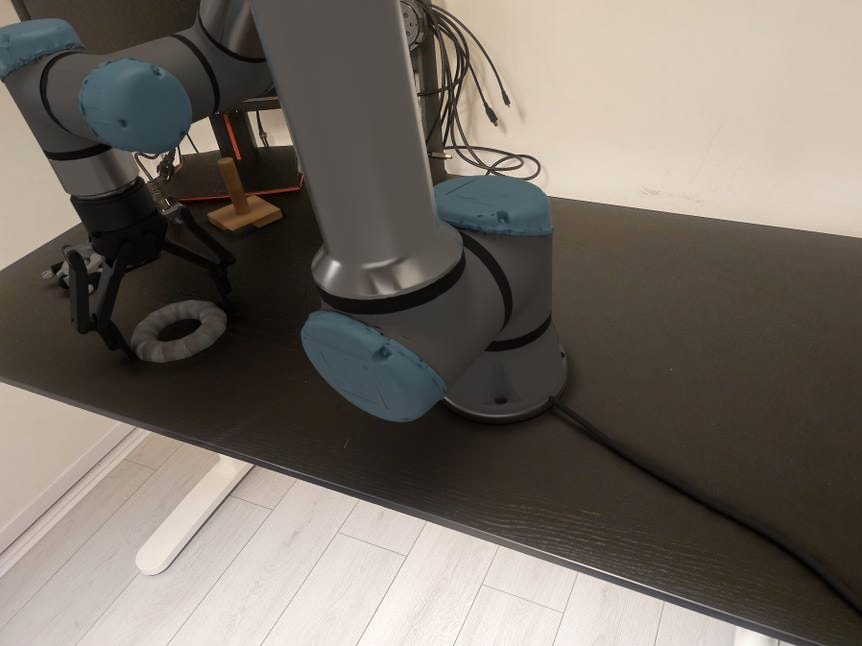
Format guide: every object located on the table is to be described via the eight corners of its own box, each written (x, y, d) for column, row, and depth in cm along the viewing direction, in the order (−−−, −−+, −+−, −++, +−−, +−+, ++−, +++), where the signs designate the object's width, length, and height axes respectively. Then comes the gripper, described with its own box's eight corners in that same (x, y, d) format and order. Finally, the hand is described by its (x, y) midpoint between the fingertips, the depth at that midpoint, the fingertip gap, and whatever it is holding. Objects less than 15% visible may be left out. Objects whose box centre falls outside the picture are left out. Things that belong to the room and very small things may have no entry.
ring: (246, 337, 79) (238, 319, 77) (160, 384, 74) (149, 365, 72) (206, 303, 86) (198, 285, 84) (124, 344, 80) (113, 326, 78)
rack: (282, 217, 104) (264, 157, 97) (235, 238, 99) (211, 177, 93) (256, 202, 109) (236, 144, 102) (209, 222, 105) (186, 163, 98)
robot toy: (96, 311, 88) (177, 253, 97) (78, 286, 85) (163, 229, 93) (47, 291, 93) (128, 238, 102) (28, 267, 90) (113, 214, 98)
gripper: (196, 139, 74) (252, 286, 88) (-32, 218, 62) (76, 374, 76) (226, 154, 69) (280, 306, 84) (-13, 243, 57) (98, 403, 72)
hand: (183, 338), depth 80 cm, fingers open, 12 cm apart
